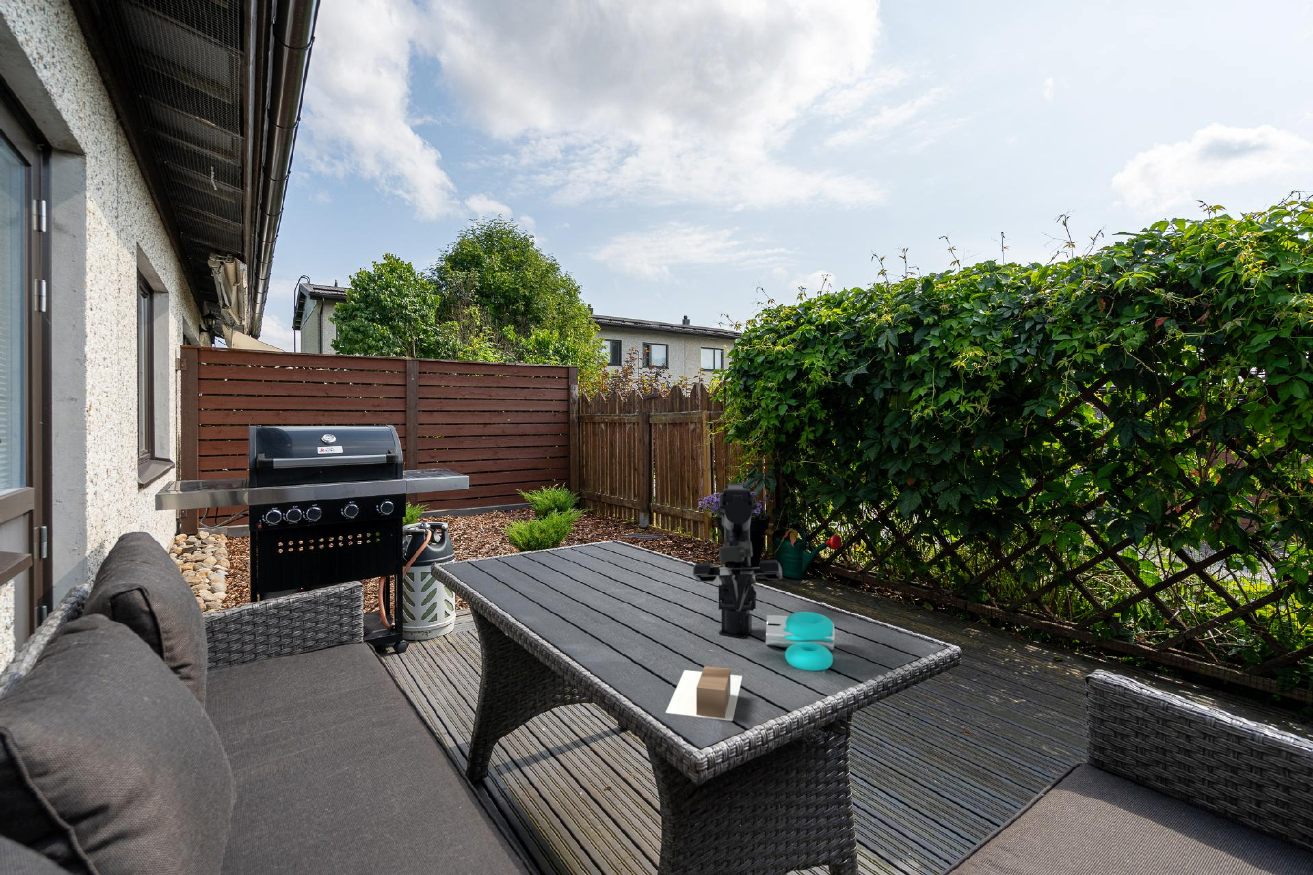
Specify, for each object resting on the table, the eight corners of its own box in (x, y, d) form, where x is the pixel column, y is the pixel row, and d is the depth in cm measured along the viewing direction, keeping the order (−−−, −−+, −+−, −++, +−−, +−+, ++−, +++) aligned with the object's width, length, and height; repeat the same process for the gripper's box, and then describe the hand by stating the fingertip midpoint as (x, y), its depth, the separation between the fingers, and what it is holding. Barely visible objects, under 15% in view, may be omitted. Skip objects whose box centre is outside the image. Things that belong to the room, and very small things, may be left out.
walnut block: (704, 666, 116) (696, 687, 107) (730, 668, 115) (724, 690, 106) (704, 691, 116) (696, 714, 107) (730, 694, 115) (724, 718, 106)
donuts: (792, 626, 124) (780, 610, 134) (792, 674, 125) (779, 654, 135) (840, 625, 125) (824, 609, 135) (839, 673, 125) (824, 653, 135)
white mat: (684, 672, 126) (684, 670, 126) (742, 678, 123) (742, 675, 123) (665, 715, 108) (665, 712, 108) (732, 723, 105) (732, 720, 105)
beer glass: (830, 649, 141) (765, 642, 143) (831, 618, 142) (766, 612, 144) (834, 654, 134) (765, 647, 136) (835, 622, 135) (767, 616, 137)
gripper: (687, 530, 132) (685, 602, 125) (773, 525, 127) (776, 600, 119) (700, 547, 141) (698, 614, 134) (780, 542, 136) (784, 613, 128)
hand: (737, 610), depth 128 cm, fingers closed
